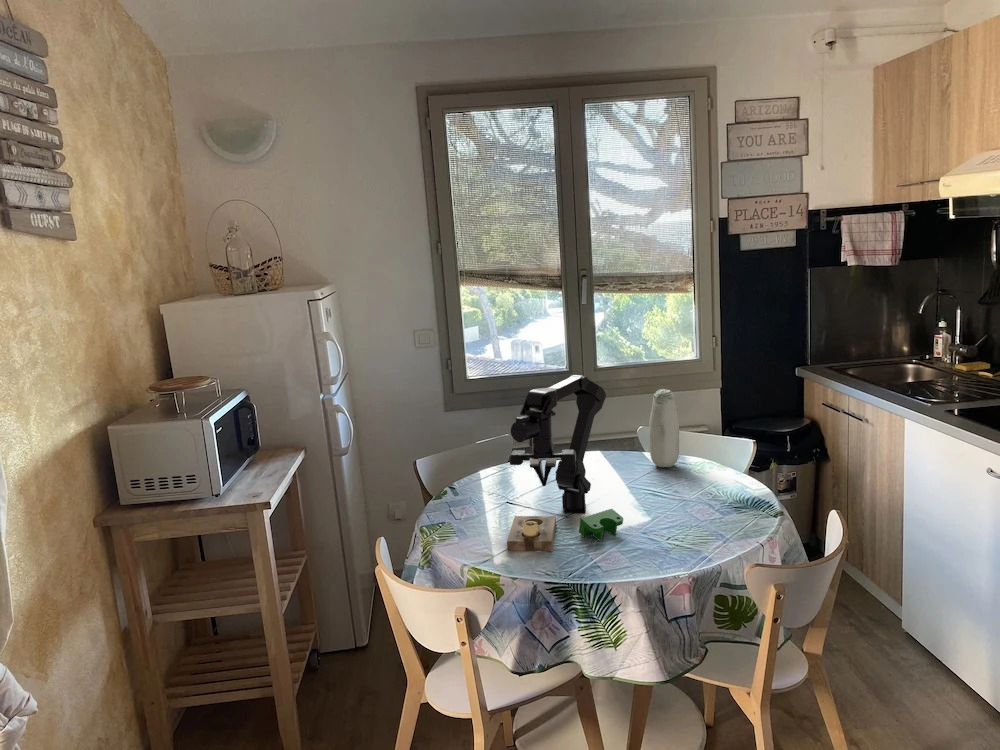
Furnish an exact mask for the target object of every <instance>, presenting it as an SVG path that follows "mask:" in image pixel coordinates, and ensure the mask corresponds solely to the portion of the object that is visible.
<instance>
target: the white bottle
mask: <svg viewBox="0 0 1000 750" xmlns="http://www.w3.org/2000/svg"><path fill="white" fill-rule="evenodd" d="M651 406H652V407H651V412H650V415H649V416H650V417H649V425H648V426H649V428H648V429H649V431H648V432H649V453H650V454H649V455H650V460H651V461H652V462H653V464H654V465H655V466H657V467H658V468H661V467H669V468H671V467H673V466H674V465H676V463H677V462H678V460H679V456H680V421H679V420H680V419H679V416H678V412H677V406H676V398H675V394H674V393H673V391H671V389H668V388H660V389H657V391H655V392H654V394H653V397H652V405H651Z"/></svg>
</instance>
